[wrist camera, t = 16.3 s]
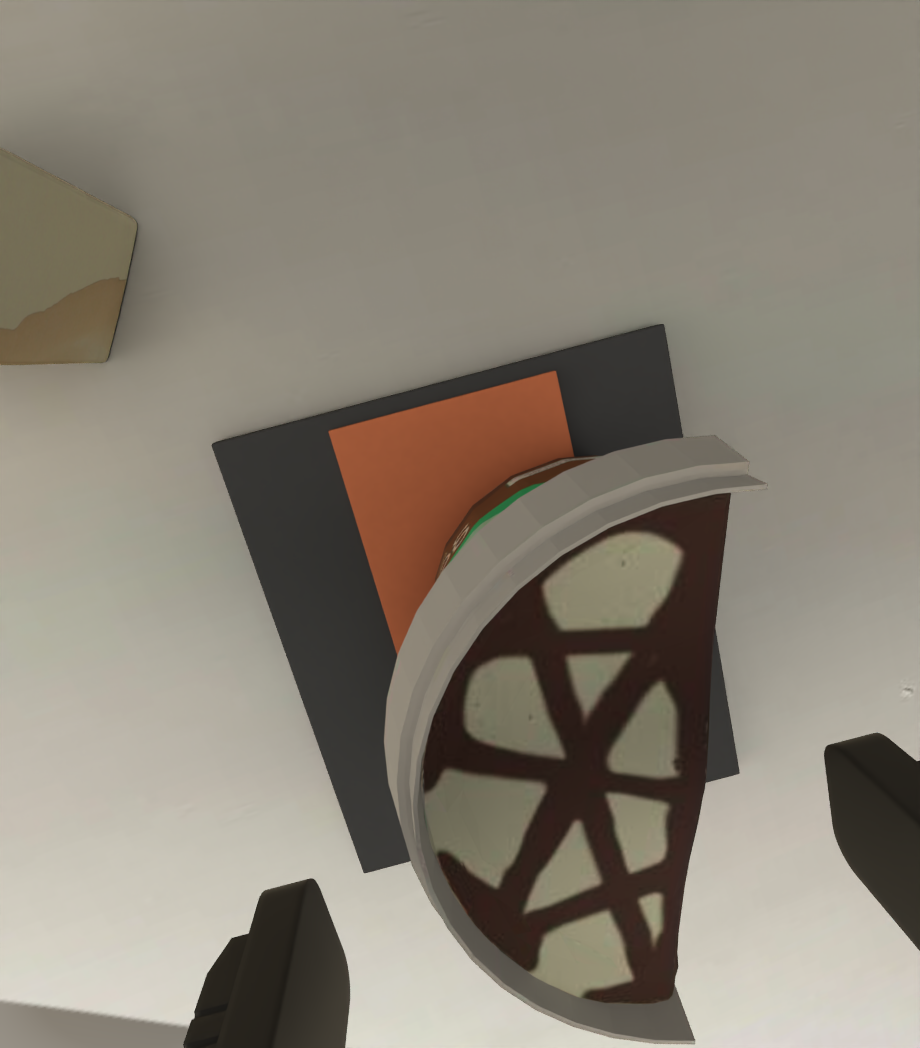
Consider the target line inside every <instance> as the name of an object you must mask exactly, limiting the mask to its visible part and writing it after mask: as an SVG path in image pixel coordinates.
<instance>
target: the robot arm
mask: <svg viewBox="0 0 920 1048" xmlns="http://www.w3.org/2000/svg"><path fill="white" fill-rule="evenodd" d="M824 759H825V767H826V775H827V783H828V792H829V800H830V808H831V816H832V824H833V830H834V834H835V837H836V840H837V842H838V845H839V847H840V850H841V852H842V854H843V856H844V857H845V859H846V861H847V863H848V864H849V866H850V867H851V869H852V870H853V872H854V873H855V874H856V875H857V877H858V878H859V879H860V880H861V881H862V883H863V884H864V885H865V886H866V887H867V888H868V890H869V891H870V892H871V893H872V894H873V896H874V897H875V898H876V899H877V900H878V902H879V903H880V904H881V905H882V906H883V908H884V909H885V910H886V911H887V912H888V913H889V915H890V916H891V917H892V918H893V919H894V921H895V922H896V923H897V924H898V925H899V927H900V928H901V929H902V930H903V931H904V933H905V934H906V935H907V936H908V937H909V938H910V940H911V941H912V942H913V943H914V944H915V946H916V947H917V948H918V949H919V950H920V761H916V760H914V759H913V758H912V757H911V756H909V755H908V754H907V753H906V752H905V751H903V750H902V749H901V748H900V747H898V746H897V745H896V744H895V743H894V742H892V741H891V740H890V739H889V738H887V737H886V736H884V735H882V734H880V733H873V734H869V735H865V736H861V737H857V738H853V739H850V740H846V741H842V742H838V743H834V744H830V745H828V746H827V747H826V748H825V752H824ZM349 1005H350V981H349V972H348V966H347V961H346V957H345V953H344V950H343V948H342V945H341V943H340V940H339V937H338V935H337V932H336V929H335V927H334V924H333V922H332V919H331V916H330V914H329V911H328V909H327V906H326V903H325V901H324V898H323V896H322V893H321V890H320V888H319V886H318V884H317V882H316V881H315V880H314V879H311V878H310V879H307V880H303V881H299V882H295V883H291V884H287V885H284V886H280V887H276V888H272V889H268V890H265V891H264V892H263V893H262V894H261V896H260V898H259V901H258V904H257V907H256V911H255V914H254V918H253V921H252V924H251V928H250V931H249V934H246V935H242V936H238V937H234V938H232V939H231V940H230V941H229V943H228V944H227V946H226V947H225V949H224V950H223V952H222V953H221V955H220V956H219V957H218V959H217V960H216V962H215V963H214V965H213V966H212V968H211V969H210V971H209V972H208V973H207V976H206V979H205V982H204V985H203V988H202V991H201V994H200V997H199V1000H198V1003H197V1006H196V1008H195V1011H194V1013H195V1018H194V1019H193V1020H191V1023H190V1026H189V1029H188V1032H187V1035H186V1038H185V1041H184V1044H183V1045H184V1048H345V1043H346V1033H347V1024H348V1014H349Z"/></svg>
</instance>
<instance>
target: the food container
mask: <svg viewBox="0 0 920 1048" xmlns="http://www.w3.org/2000/svg"><path fill="white" fill-rule="evenodd" d="M749 463H750V462H749V461H748V460H747V459H745V458H744V457H743V456H742V455H740V454H739V453H738V452H736V451H735V450H734V449H732V448H731V447H730V446H728V445H727V444H726V443H724V442H723V441H722V440H720V439H719V438H718V437H716V436H715V435H711V436H699V437H687V438H675V439H665V440H660V441H656V442H652V443H648V444H643V445H639V446H635V447H631V448H626V449H622V450H618V451H614V452H611V453H609V454H606V455H604V456H599V455H590V456H578V457H566V458H557V459H555V460H552V461H549V462H547V463H544V464H541V465H539V466H536V467H533V468H530V469H528V470H525V471H522V472H520V473H517V474H514V475H512V476H510V477H509V478H508V479H506V480H505V481H504V482H502V483H501V484H500V485H498V486H497V487H496V488H495V489H493V490H492V491H491V492H489V493H488V494H487V495H485V496H484V497H483V498H482V499H480V500H479V501H478V502H476V503H475V504H474V505H472V507H471V508H470V510H469V511H468V513H467V514H466V515H465V517H464V518H463V520H462V521H461V523H460V524H459V526H458V527H457V529H456V530H455V531H454V533H453V534H452V536H451V537H450V539H449V540H448V542H447V543H446V545H445V548H444V551H443V555H442V558H441V561H440V564H439V568H438V571H437V574H436V577H435V584H434V585H433V587H432V588H431V590H430V591H429V593H428V594H427V596H426V598H425V599H424V601H423V602H422V604H421V605H420V607H419V608H418V610H417V612H416V614H415V616H414V619H413V621H412V623H411V625H410V628H409V630H408V632H407V635H406V637H405V639H404V641H403V644H402V646H401V648H400V650H399V653H398V656H397V660H396V664H395V668H394V672H393V676H392V680H391V684H390V688H389V692H388V696H387V705H386V719H385V733H384V747H385V756H386V766H387V775H388V783H389V787H390V790H391V794H392V797H393V801H394V804H395V808H396V811H397V815H398V818H399V821H400V825H401V828H402V832H403V835H404V839H405V842H406V846H407V849H408V852H409V856H410V859H411V863H412V866H413V869H414V871H415V873H416V874H417V876H418V878H419V880H420V882H421V884H422V886H423V888H424V890H425V892H426V894H427V896H428V898H429V900H430V902H431V904H432V906H433V907H434V908H435V910H436V911H437V912H438V914H439V915H440V916H441V918H442V919H443V921H444V923H445V925H446V926H447V928H448V930H449V931H450V932H451V933H452V935H453V936H454V937H455V939H456V940H457V941H458V943H459V944H460V945H461V947H462V948H463V949H464V951H465V952H466V953H467V955H468V956H469V957H470V959H471V960H472V961H473V962H474V963H475V964H476V965H478V966H479V967H480V968H481V969H482V970H483V971H484V972H485V973H486V974H487V975H488V976H489V977H491V978H492V979H493V980H494V981H495V982H496V983H497V984H498V985H499V986H500V987H501V988H503V989H504V990H506V991H507V992H509V993H511V994H512V995H514V996H515V997H517V998H518V999H520V1000H521V1001H523V1002H524V1003H526V1004H527V1005H529V1006H530V1007H532V1008H533V1009H535V1010H537V1011H539V1012H541V1013H544V1014H546V1015H548V1016H550V1017H553V1018H555V1019H557V1020H559V1021H561V1022H564V1023H566V1024H568V1025H570V1026H573V1027H576V1028H579V1029H583V1030H586V1031H590V1032H594V1033H597V1034H601V1035H604V1036H608V1037H611V1038H616V1039H624V1040H631V1041H639V1042H646V1043H654V1044H695V1039H694V1036H693V1033H692V1031H691V1028H690V1025H689V1022H688V1020H687V1017H686V1014H685V1011H684V1009H683V1006H682V1003H681V1000H680V998H679V995H678V992H677V990H676V987H675V984H674V983H675V976H676V973H677V969H678V956H677V948H678V933H679V924H680V917H681V909H682V902H683V894H684V887H685V881H686V876H687V870H688V864H689V859H690V855H691V851H692V846H693V842H694V838H695V833H696V829H697V825H698V820H699V814H700V809H701V804H702V798H703V794H704V790H705V783H706V773H707V757H708V740H709V711H710V690H711V674H712V658H713V642H714V633H715V624H716V615H717V606H718V598H719V589H720V580H721V571H722V563H723V554H724V546H725V537H726V529H727V520H728V512H729V504H730V495H731V492H742V491H753V490H765V489H767V487H768V484H767V483H764V482H762V481H760V480H758V479H756V478H753V477H751V476H749V475H748V471H749Z"/></svg>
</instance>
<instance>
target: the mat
mask: <svg viewBox="0 0 920 1048" xmlns="http://www.w3.org/2000/svg"><path fill="white" fill-rule="evenodd" d="M675 438H683V434H682V428H681V422H680V416H679V410H678V404H677V398H676V392H675V386H674V381H673V375H672V369H671V363H670V357H669V351H668V345H667V339H666V333H665V327H664V324H659V325H655V326H651V327H647V328H643V329H640V330H636V331H632V332H628V333H624V334H621V335H617V336H613V337H609V338H606V339H602V340H598V341H594V342H591V343H587V344H583V345H579V346H576V347H572V348H568V349H564V350H561V351H557V352H553V353H549V354H545V355H542V356H538V357H534V358H530V359H527V360H523V361H519V362H515V363H512V364H508V365H504V366H500V367H497V368H493V369H489V370H485V371H482V372H478V373H474V374H470V375H466V376H463V377H459V378H455V379H451V380H448V381H444V382H440V383H436V384H433V385H429V386H425V387H421V388H418V389H414V390H410V391H406V392H403V393H399V394H395V395H391V396H387V397H384V398H380V399H376V400H372V401H369V402H365V403H361V404H357V405H354V406H350V407H346V408H342V409H339V410H335V411H331V412H327V413H324V414H320V415H316V416H312V417H308V418H305V419H301V420H297V421H293V422H290V423H286V424H282V425H278V426H275V427H271V428H267V429H263V430H260V431H256V432H252V433H248V434H245V435H241V436H237V437H233V438H229V439H226V440H222V441H218V442H215V443H213V444H212V448H213V451H214V453H215V456H216V459H217V462H218V465H219V467H220V470H221V473H222V476H223V479H224V482H225V484H226V487H227V490H228V493H229V496H230V498H231V501H232V504H233V507H234V510H235V512H236V515H237V518H238V521H239V524H240V526H241V529H242V532H243V535H244V538H245V540H246V543H247V546H248V549H249V552H250V555H251V557H252V560H253V563H254V566H255V569H256V571H257V574H258V577H259V580H260V583H261V585H262V588H263V591H264V594H265V597H266V599H267V602H268V605H269V608H270V611H271V613H272V616H273V619H274V622H275V625H276V628H277V630H278V633H279V636H280V639H281V642H282V644H283V647H284V650H285V653H286V656H287V658H288V661H289V664H290V667H291V670H292V672H293V675H294V678H295V681H296V684H297V686H298V689H299V692H300V695H301V698H302V701H303V703H304V706H305V709H306V712H307V715H308V717H309V720H310V723H311V726H312V729H313V731H314V734H315V737H316V740H317V743H318V745H319V748H320V751H321V754H322V757H323V759H324V762H325V765H326V768H327V771H328V774H329V776H330V779H331V782H332V785H333V788H334V790H335V793H336V796H337V799H338V802H339V804H340V807H341V810H342V813H343V816H344V818H345V821H346V824H347V827H348V830H349V832H350V835H351V838H352V841H353V844H354V846H355V849H356V852H357V855H358V858H359V861H360V863H361V866H362V869H363V872H364V873H368V872H372V871H375V870H379V869H383V868H387V867H390V866H394V865H398V864H402V863H405V862H409V861H411V859H410V856H409V852H408V849H407V846H406V842H405V839H404V835H403V832H402V828H401V825H400V821H399V818H398V815H397V811H396V808H395V804H394V801H393V797H392V794H391V790H390V787H389V783H388V775H387V766H386V756H385V747H384V733H385V719H386V705H387V696H388V692H389V688H390V684H391V680H392V676H393V672H394V668H395V664H396V660H397V656H398V653H399V650H400V648H401V646H402V644H403V641H404V639H405V637H406V635H407V632H408V630H409V628H410V625H411V623H412V621H413V619H414V616H415V614H416V612H417V610H418V608H419V607H420V605H421V604H422V602H423V601H424V599H425V598H426V596H427V594H428V593H429V591H430V590H431V588H432V587H433V585H434V584H435V577H436V574H437V571H438V568H439V564H440V561H441V558H442V555H443V551H444V548H445V545H446V543H447V542H448V540H449V539H450V537H451V536H452V534H453V533H454V531H455V530H456V529H457V527H458V526H459V524H460V523H461V521H462V520H463V518H464V517H465V515H466V514H467V513H468V511H469V510H470V508H471V507H472V505H474V504H475V503H476V502H478V501H479V500H480V499H482V498H483V497H484V496H485V495H487V494H488V493H489V492H491V491H492V490H493V489H495V488H496V487H497V486H498V485H500V484H501V483H502V482H504V481H505V480H506V479H508V478H509V477H510V476H512V475H514V474H517V473H520V472H522V471H525V470H528V469H530V468H533V467H536V466H539V465H541V464H544V463H547V462H549V461H552V460H555V459H557V458H566V457H578V456H590V455H599V456H604V455H606V454H609V453H611V452H614V451H618V450H622V449H626V448H631V447H635V446H639V445H643V444H648V443H652V442H656V441H660V440H665V439H675ZM736 774H739V767H738V761H737V755H736V749H735V743H734V737H733V731H732V725H731V719H730V713H729V707H728V701H727V695H726V689H725V683H724V677H723V672H722V666H721V660H720V654H719V648H718V642H717V636H716V630H715V633H714V642H713V658H712V674H711V690H710V711H709V740H708V757H707V773H706V782H710V781H714V780H718V779H721V778H725V777H729V776H733V775H736Z"/></svg>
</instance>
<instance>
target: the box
mask: <svg viewBox="0 0 920 1048" xmlns="http://www.w3.org/2000/svg"><path fill="white" fill-rule="evenodd" d="M136 231H137V223H136V221H135V220H134V219H133V218H132V217H131V216H129V215H128V214H126V213H124V212H122V211H120V210H118V209H116V208H114V207H112V206H110V205H109V204H107V203H105V202H103V201H101V200H99V199H97V198H95V197H94V196H92V195H90V194H88V193H86V192H84V191H82V190H80V189H79V188H77V187H75V186H73V185H71V184H69V183H67V182H65V181H63V180H62V179H60V178H58V177H56V176H54V175H52V174H50V173H48V172H46V171H44V170H42V169H40V168H39V167H37V166H35V165H33V164H31V163H29V162H27V161H25V160H24V159H22V158H20V157H18V156H16V155H14V154H12V153H10V152H8V151H6V150H5V149H3V148H1V147H0V365H33V364H68V363H103V362H105V361H106V360H107V358H108V355H109V351H110V347H111V344H112V340H113V336H114V331H115V327H116V323H117V319H118V316H119V312H120V307H121V303H122V298H123V293H124V289H125V285H126V281H127V276H128V271H129V266H130V262H131V256H132V251H133V247H134V242H135V236H136Z"/></svg>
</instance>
